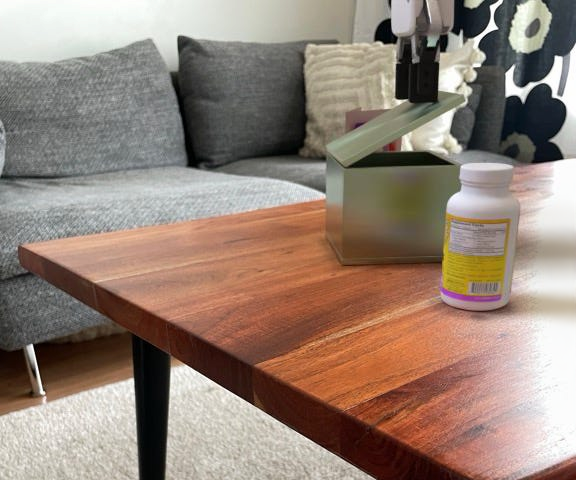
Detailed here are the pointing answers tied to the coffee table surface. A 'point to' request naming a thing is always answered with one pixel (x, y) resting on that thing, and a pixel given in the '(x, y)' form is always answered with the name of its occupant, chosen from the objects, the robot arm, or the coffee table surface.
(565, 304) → the coffee table surface
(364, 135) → the bin lid
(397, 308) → the coffee table surface
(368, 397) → the coffee table surface
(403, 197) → the bin
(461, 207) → the supplement bottle
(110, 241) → the coffee table surface
